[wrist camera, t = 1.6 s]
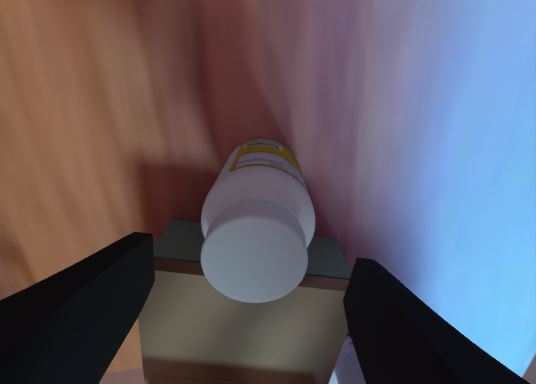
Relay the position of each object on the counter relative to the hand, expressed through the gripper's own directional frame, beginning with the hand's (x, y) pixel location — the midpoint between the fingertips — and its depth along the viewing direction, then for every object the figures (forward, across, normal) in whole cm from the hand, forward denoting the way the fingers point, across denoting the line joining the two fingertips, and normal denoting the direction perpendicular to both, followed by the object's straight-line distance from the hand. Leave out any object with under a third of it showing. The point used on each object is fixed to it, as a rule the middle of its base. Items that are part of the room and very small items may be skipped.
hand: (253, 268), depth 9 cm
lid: (+5, 0, +10) cm, 11 cm away
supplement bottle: (+10, 0, 0) cm, 10 cm away
